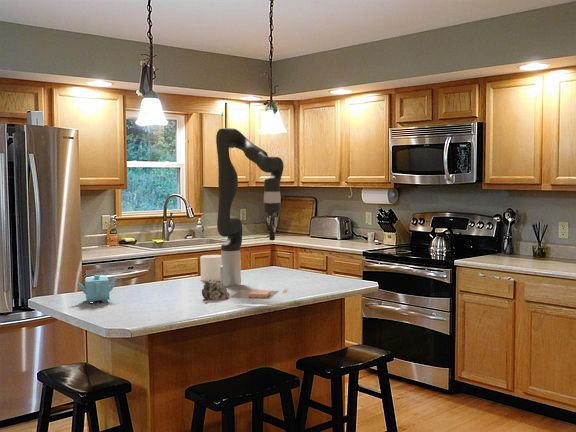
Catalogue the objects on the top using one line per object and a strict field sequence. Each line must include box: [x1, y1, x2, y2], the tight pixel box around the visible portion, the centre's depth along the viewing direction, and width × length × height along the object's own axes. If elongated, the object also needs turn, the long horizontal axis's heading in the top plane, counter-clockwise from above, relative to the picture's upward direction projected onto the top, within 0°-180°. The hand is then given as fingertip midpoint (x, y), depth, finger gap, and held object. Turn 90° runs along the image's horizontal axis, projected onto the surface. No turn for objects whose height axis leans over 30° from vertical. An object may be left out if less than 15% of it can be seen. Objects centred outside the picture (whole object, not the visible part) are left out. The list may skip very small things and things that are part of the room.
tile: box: [248, 289, 272, 299], centre depth 277 cm, size 8×2×8 cm
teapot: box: [76, 274, 120, 303], centre depth 275 cm, size 16×18×11 cm
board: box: [229, 289, 280, 300], centre depth 282 cm, size 18×18×1 cm
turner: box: [281, 288, 289, 294], centre depth 285 cm, size 16×4×1 cm, turn 173°
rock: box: [201, 280, 231, 300], centre depth 275 cm, size 13×10×10 cm
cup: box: [199, 254, 222, 282], centre depth 327 cm, size 12×12×12 cm
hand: (272, 240), depth 287 cm, fingers closed
